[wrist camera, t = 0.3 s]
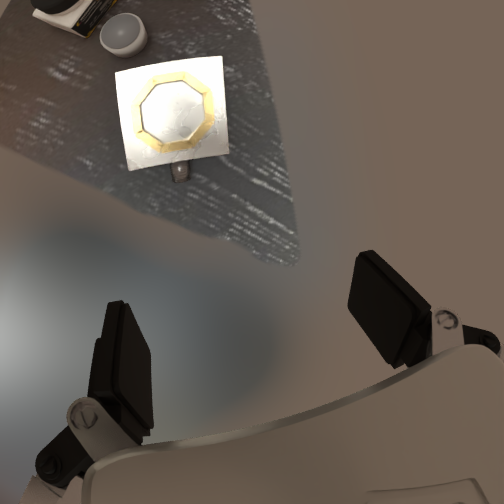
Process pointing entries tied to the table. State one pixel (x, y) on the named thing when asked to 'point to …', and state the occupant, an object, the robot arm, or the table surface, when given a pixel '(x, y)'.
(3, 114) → the table surface
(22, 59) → the table surface
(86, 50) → the table surface
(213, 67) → the block
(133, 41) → the short grey cylinder
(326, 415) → the robot arm
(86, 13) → the medicine bottle
